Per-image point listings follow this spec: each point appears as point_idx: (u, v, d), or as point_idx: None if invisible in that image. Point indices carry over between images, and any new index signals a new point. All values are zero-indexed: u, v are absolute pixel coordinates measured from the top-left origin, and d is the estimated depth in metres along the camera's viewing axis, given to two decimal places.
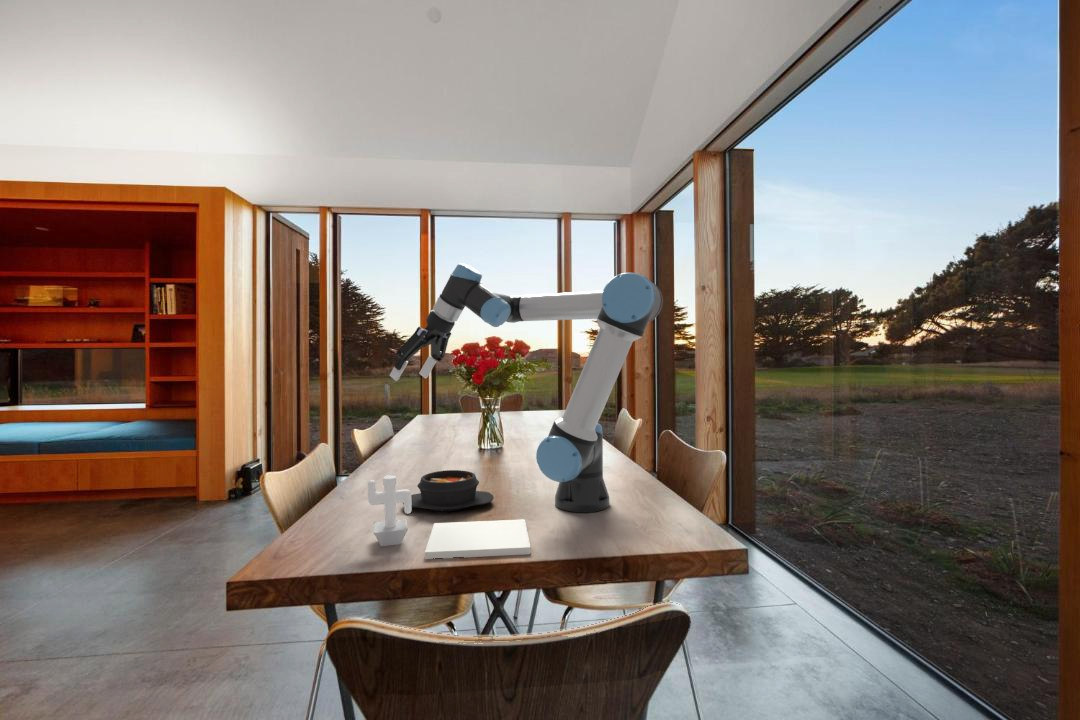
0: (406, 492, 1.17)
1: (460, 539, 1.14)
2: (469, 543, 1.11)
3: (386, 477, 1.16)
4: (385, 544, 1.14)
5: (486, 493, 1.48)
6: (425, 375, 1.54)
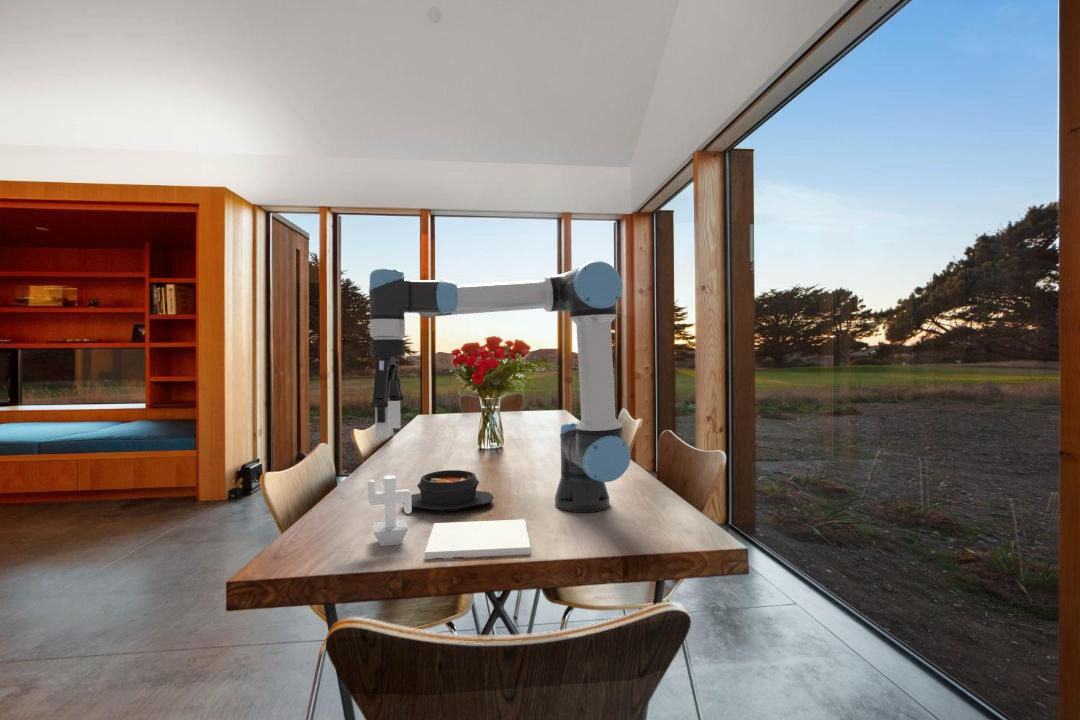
0: (406, 492, 1.17)
1: (460, 539, 1.14)
2: (469, 543, 1.11)
3: (386, 477, 1.16)
4: (385, 544, 1.14)
5: (486, 493, 1.48)
6: (397, 424, 1.23)
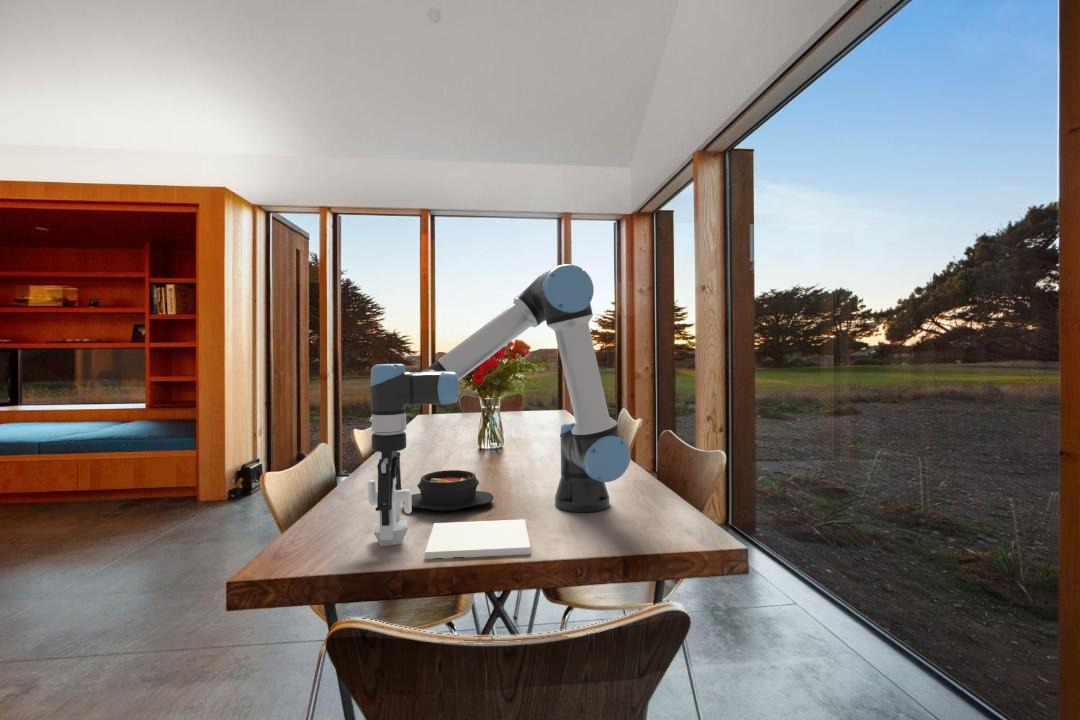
0: (406, 492, 1.17)
1: (460, 539, 1.14)
2: (469, 543, 1.11)
3: None
4: (385, 544, 1.14)
5: (486, 493, 1.48)
6: None
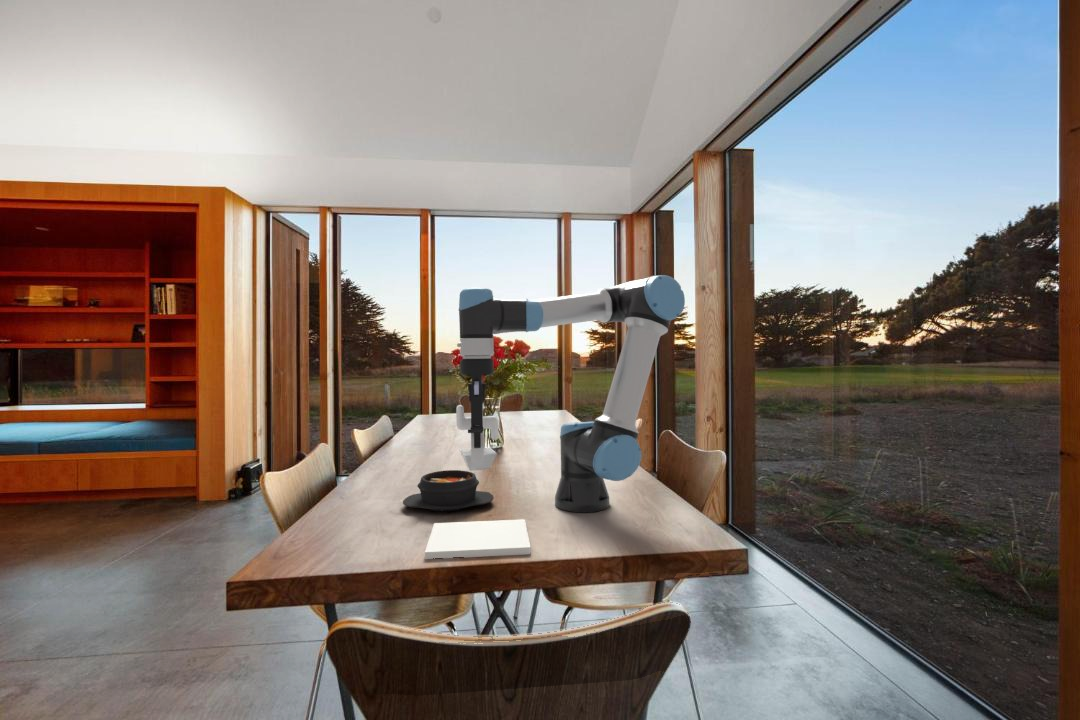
0: (493, 418, 1.16)
1: (460, 539, 1.14)
2: (469, 543, 1.11)
3: None
4: (474, 468, 1.14)
5: (486, 493, 1.48)
6: None
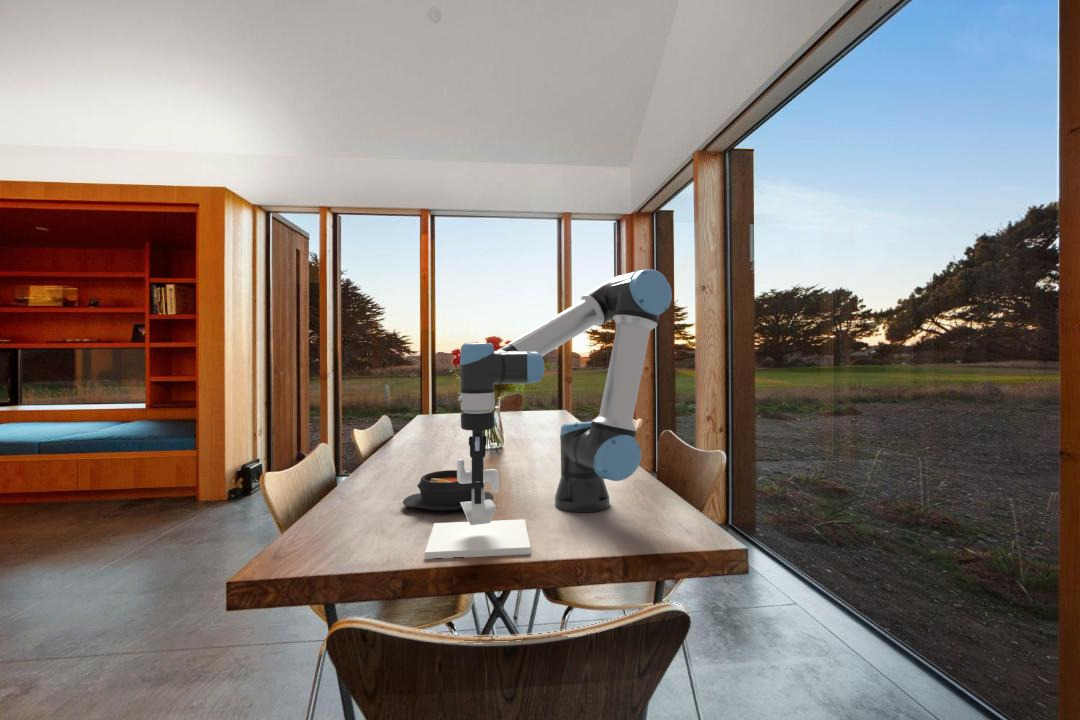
0: (494, 471, 1.17)
1: (460, 539, 1.14)
2: (469, 543, 1.11)
3: None
4: (475, 523, 1.14)
5: (486, 493, 1.48)
6: None
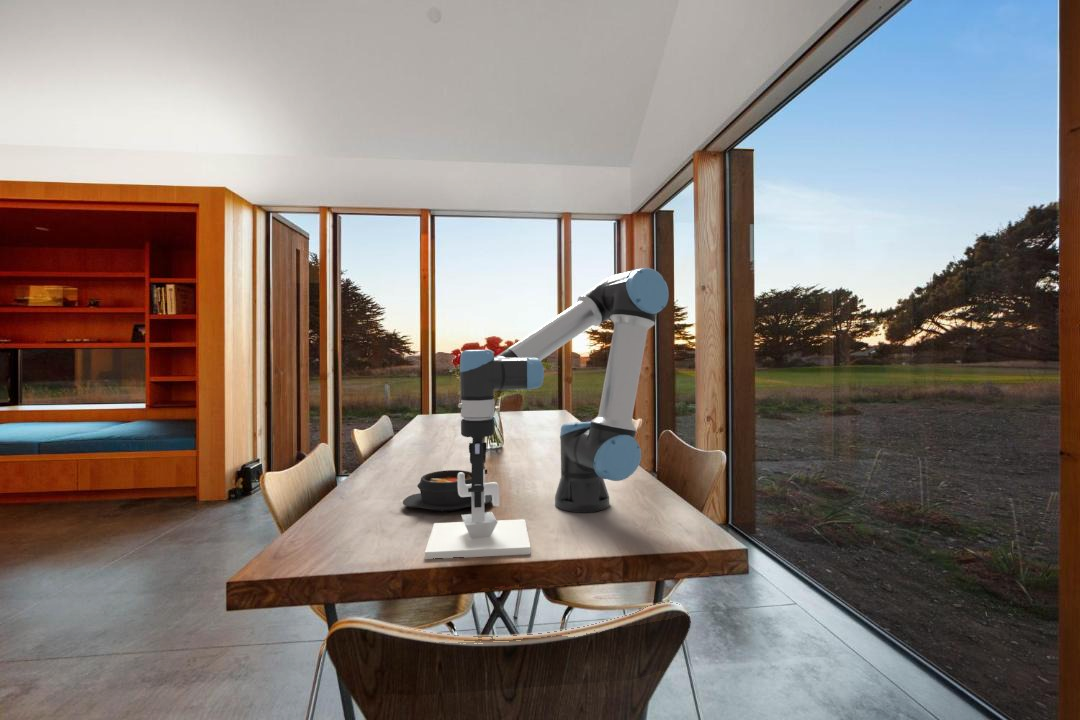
0: (494, 485, 1.17)
1: (460, 539, 1.14)
2: (469, 543, 1.11)
3: None
4: (475, 536, 1.14)
5: None
6: None
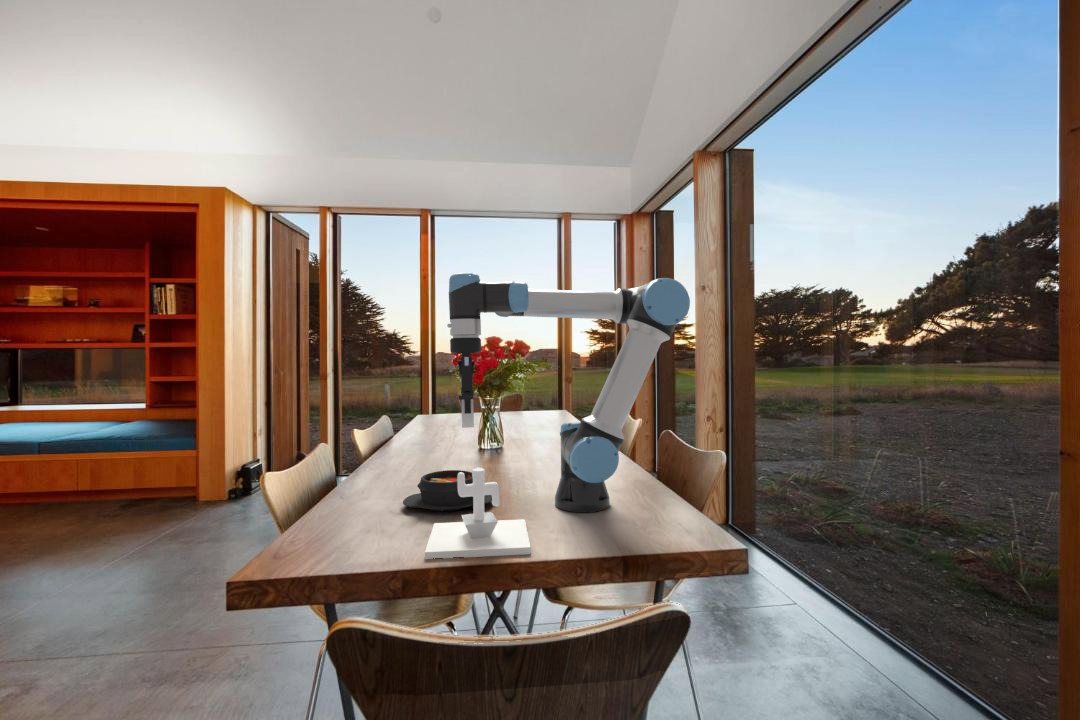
0: (494, 485, 1.17)
1: (460, 539, 1.14)
2: (469, 543, 1.11)
3: (475, 469, 1.16)
4: (475, 536, 1.14)
5: None
6: None
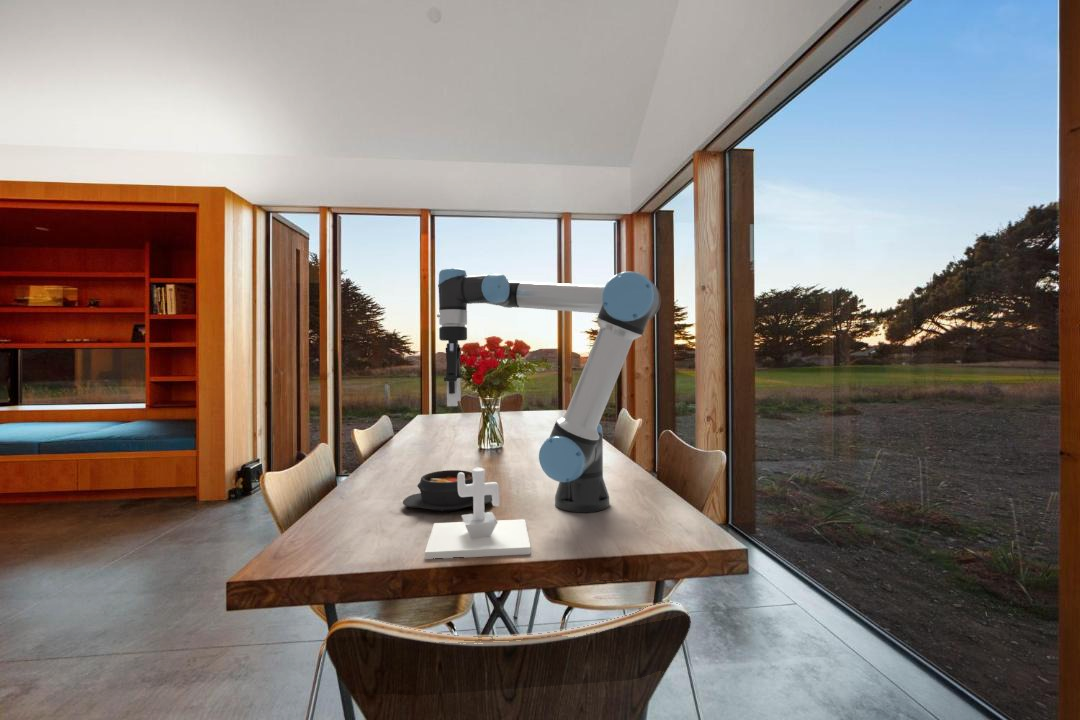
0: (494, 485, 1.17)
1: (460, 539, 1.14)
2: (469, 543, 1.11)
3: (475, 469, 1.16)
4: (475, 536, 1.14)
5: None
6: (458, 398, 1.48)
